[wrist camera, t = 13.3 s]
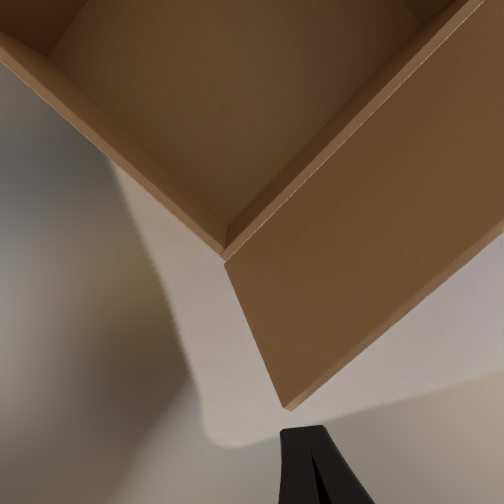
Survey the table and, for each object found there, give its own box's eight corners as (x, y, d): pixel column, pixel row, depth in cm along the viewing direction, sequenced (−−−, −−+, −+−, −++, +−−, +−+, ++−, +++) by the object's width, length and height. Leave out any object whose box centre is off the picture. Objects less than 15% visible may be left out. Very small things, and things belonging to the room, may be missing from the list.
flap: (1009, -213, 4) (992, -182, 5) (540, -57, 9) (541, -45, 10) (282, 409, 7) (291, 412, 7) (223, 264, 12) (229, 268, 12)
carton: (247, -227, 12) (255, -506, 7) (426, 30, 15) (523, -39, 10) (39, 59, 15) (-66, 2, 10) (228, 233, 18) (225, 261, 13)
